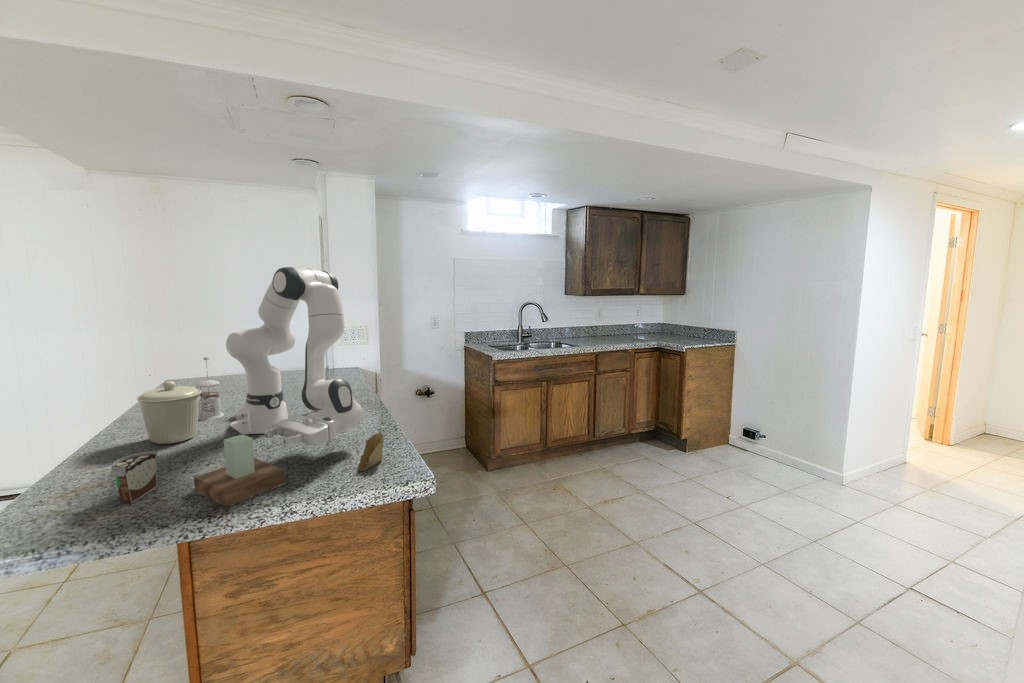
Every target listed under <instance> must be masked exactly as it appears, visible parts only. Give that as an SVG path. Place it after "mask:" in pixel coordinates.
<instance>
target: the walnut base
mask: <svg viewBox="0 0 1024 683" xmlns="http://www.w3.org/2000/svg"><path fill="white" fill-rule="evenodd" d="M254 468H255V473H252V474H249V475H246V476H243V477H240V478H238V479H235V478H233V477H230V476H228V475H226V466H224V467H221V468H217V469H214V470H211V471H209V472H205V473H202V474H199V475H196V476H194V477H193V481H194V485H193V486H194V491H195V492H196V493H198V494H200V495H202V496H204V497H206V498H207V499H209V500H212V501H213V500H214V501H213V502H215V501H216V503H217V502H218V503H217V504H219V503H220V504H219V505H221V504H222V505H221V506H223V505H224V506H223V507H225V506H226V507H225V508H228V507H230V506H229V505H231V506H233V505H236V504H238V503H240V501H241V502H243V501H245V500H244V499H246V498H248V499H250V498H249V497H251V496H253V497H255V496H254V495H256V494H258V495H260V494H259V493H261V492H263V493H265V492H264V491H266V492H268V491H267V490H269V491H271V490H272V488H274V489H276V488H278V487H277V486H279V485H281V486H283V485H282V484H284V483H286V484H287V479H286V478H287V477H286V469H284V468H281V467H278V466H275V465H273V464H270V463H268V462H265V461H263V460H260V459H257V458H255V457H254ZM284 485H285V484H284ZM275 487H276V488H275ZM279 487H280V486H279ZM270 489H271V490H270ZM261 494H262V493H261ZM256 496H257V495H256ZM251 498H252V497H251ZM242 500H243V501H242ZM246 500H247V499H246ZM237 502H238V503H237ZM235 503H236V504H235ZM232 504H233V505H232ZM227 506H228V507H227Z"/></svg>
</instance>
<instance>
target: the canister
mask: <svg viewBox="0 0 1024 683" xmlns="http://www.w3.org/2000/svg"><path fill="white" fill-rule="evenodd" d="M176 385H177V384H176V382H174V381H173V380H168V381H165V382H164V383H163V384H162V387H160V388H155V389H151V390H148V391H145V392H143V393H142V394H141V395H140V394H139V396H137V397H136V401H137V402H139V405H140V409H141V412H142V417H143V421H144V426H145V429H146V433H147V436H148V438H149V440H150V441H151V443H152V442H153V443H154V444H158V445H169V444H177V443H181V442H185V441H187V440H190V439H192V438H193V437H194V436H195V435H196V434H197V432H198V425H199V420H198V415H199V399H200V396H199V394H201V393H203V391H202V389H201V390H200V388H198V389H197V388H196V387H195V386H187V385H178V386H176Z"/></svg>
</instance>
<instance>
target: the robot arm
mask: <svg viewBox="0 0 1024 683" xmlns="http://www.w3.org/2000/svg"><path fill="white" fill-rule="evenodd" d="M300 301H304V302H305V304H306V306H307V316H308V317H307V318H308V335H307V339H306V343H305V353H304V354H305V355H304V359H305V361H304V364H305V365H304V383H303V387H302V390H301V400H302V402H303V405H304V406H305V407H306V408H307V409H308V410H311V411H314V412H311V413H307V414H306V416H305V418H304V419H300V418H297V417H290V418H289V415H288V409H287V404H286V402H285V401H283V400H284V392H283V389H282V377H281V376H282V373H281V371H280V369H278V368H277V367H276V366H274V365H271V363H270V361H269V358H268V356H275V355H280V354H283V353H286V352H287V351H290V350H292V348H294V346H295V343H296V337H295V333H294V332H293V329H291V326H290V325H291V321H292V320H293V316H294V314H295V311H296V310H297V307H298V305H299V302H300ZM257 311H258V312H257V313H258V316H259V318H260V319H261V321H262V322H264V323H263V324H262V326H260V327H252V328H244V329H240V330H236V331H234V332H231V333H230V334H229V335H228V336H227V338H226V341H225V347H226V351H227V353H228V354H229V355H230V356H231V357H232V358H234V359H235V360H237V361H238V362H239V363H240V364H241V366H242V367H243V368H244V371H245V374H246V379H247V389H248V392H247V393H246V395H245V398H246V401H245V403H244V404H243V405H242V406H241V407H240V408H239V409H238V410H237V412H236V414H235V421H232V422H231V423H230V427H231V428H232V429H234V430H235V431H236V432H238V433H239V434H240V435H242V434H243V435H246V436H247V435H252V434H253V435H255V434H256V435H257V434H258V435H259V434H261V435H262V434H264V437H265V438H267V439H270V438H271V439H272V438H274V436H275V435H276V436H281V437H283V439H282V443H283V444H285V445H290V444H300V443H301V444H305V445H307V446H317V445H320V444H323V443H324V444H325V443H327V442H334V441H335V439H336V438H335V437H336V434H339V433H340V434H341V433H343V432H346V431H348V430H351V429H353V428H355V427H357V426H358V425H359V424H360V423H361V422H362V420H363V417H364V416H363V415H364V413H363V412H364V411H363V408H362V406H361V404H359V403H358V402H357V400H355V397H354V395H353V390H352V387H351V385H350V384H349V382H348V381H347V380H346V379H344V378H334V379H333V378H332V379H325V365H326V364H325V362H326V361H325V359H326V354H327V352H328V350H329V349H331V347H332V346H333V345H334V344H336V342H338V341H339V340H340V339H341V338H342V336H343V335H344V331H345V316H344V309H343V303H342V300H341V296H340V292H339V280H338V279H337V277H336V276H335V275H334V274H333V273H331V272H328V271H325V270H318V269H315V268H308V267H307V268H304V267H303V268H302V267H292V266H285V267H281V268H278V269H276V271H275V272H274V274H273V277H272V280H271V282H270V284H269V285H268V288H267V290H266V291H265V294H264V296H263V298H262V300H261V302H260V305H259V307H258V310H257ZM318 410H321V411H318Z"/></svg>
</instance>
